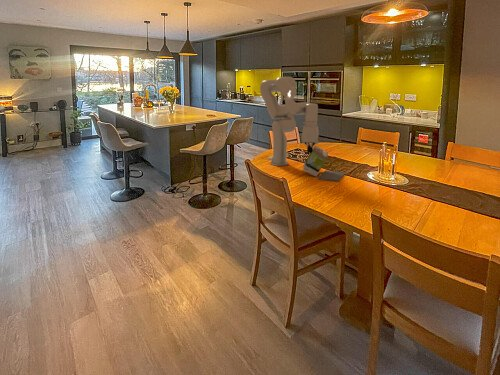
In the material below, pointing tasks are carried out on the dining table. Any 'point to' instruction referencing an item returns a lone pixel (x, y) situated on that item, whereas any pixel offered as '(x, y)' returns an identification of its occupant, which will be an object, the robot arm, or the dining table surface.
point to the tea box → (315, 161)
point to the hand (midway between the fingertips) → (309, 152)
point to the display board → (331, 176)
